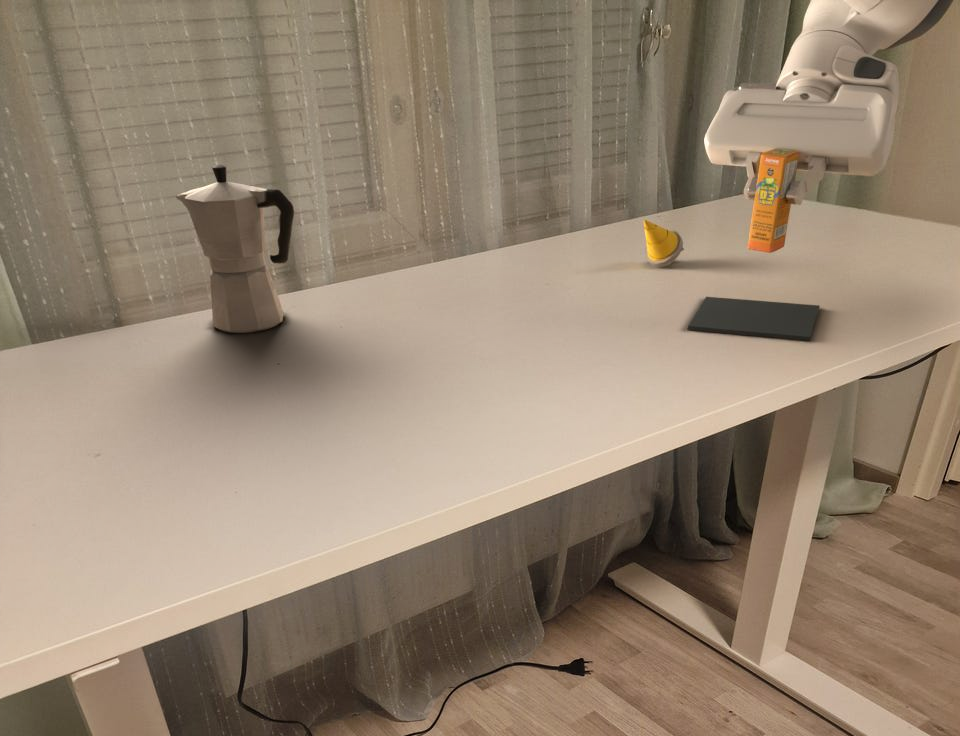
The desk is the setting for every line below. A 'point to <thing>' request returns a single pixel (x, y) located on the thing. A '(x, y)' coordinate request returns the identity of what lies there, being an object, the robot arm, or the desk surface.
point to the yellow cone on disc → (661, 244)
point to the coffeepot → (239, 250)
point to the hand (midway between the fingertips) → (771, 199)
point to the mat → (755, 318)
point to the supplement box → (772, 200)
